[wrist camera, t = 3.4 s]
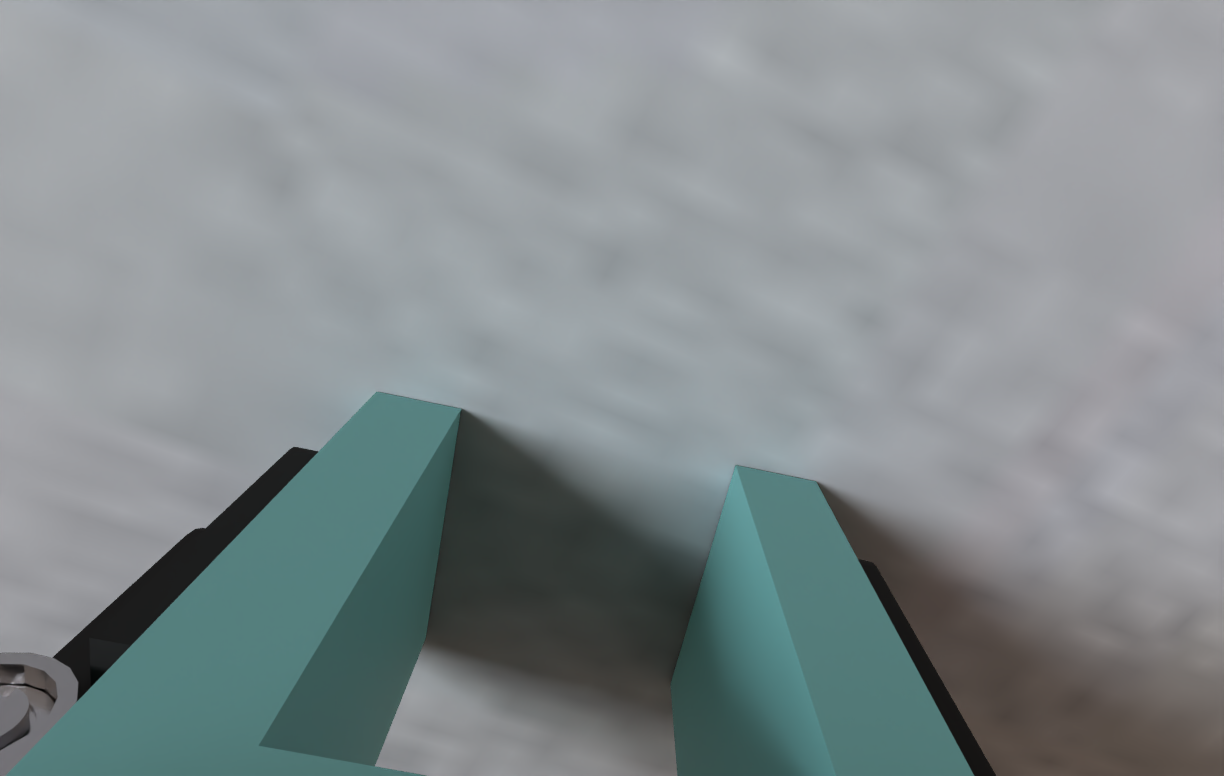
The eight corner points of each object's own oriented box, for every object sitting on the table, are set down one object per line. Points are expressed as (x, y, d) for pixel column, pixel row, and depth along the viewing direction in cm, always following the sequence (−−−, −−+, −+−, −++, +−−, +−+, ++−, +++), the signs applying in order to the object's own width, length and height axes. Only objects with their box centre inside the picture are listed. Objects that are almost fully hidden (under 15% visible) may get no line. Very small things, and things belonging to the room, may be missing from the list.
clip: (376, 391, 10) (-183, 969, 3) (815, 481, 11) (1196, 1187, 4) (350, 624, 12) (-87, 1400, 4) (741, 697, 12) (909, 1530, 5)
